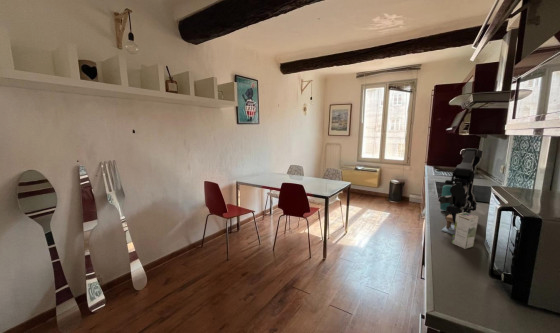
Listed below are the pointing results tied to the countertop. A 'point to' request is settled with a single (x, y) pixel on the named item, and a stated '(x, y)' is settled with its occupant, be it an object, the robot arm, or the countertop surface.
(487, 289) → the countertop surface
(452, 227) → the board
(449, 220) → the block with dowel legs
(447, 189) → the beverage bottle
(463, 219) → the syrup box
